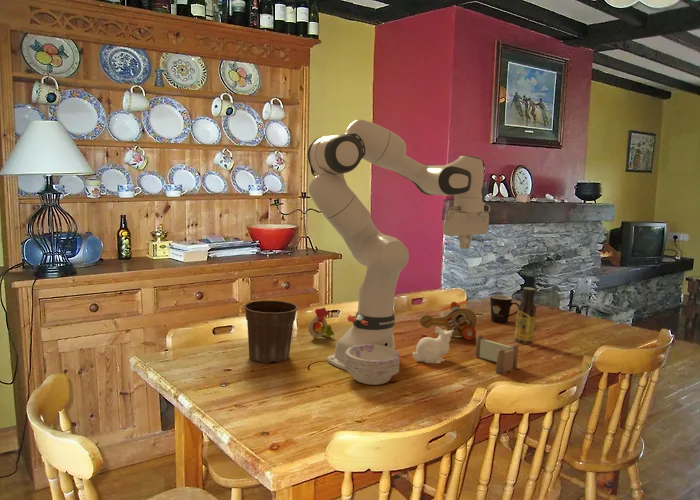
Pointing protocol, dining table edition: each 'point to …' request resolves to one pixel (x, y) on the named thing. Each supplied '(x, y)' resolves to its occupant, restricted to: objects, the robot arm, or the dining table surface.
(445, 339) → the rabbit
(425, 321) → the toy helicopter
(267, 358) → the plant pot
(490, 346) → the sage gate panel
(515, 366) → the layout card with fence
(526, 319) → the sauce bottle
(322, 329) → the bird rattle
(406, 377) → the dining table surface
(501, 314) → the coffee mug
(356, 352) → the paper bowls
